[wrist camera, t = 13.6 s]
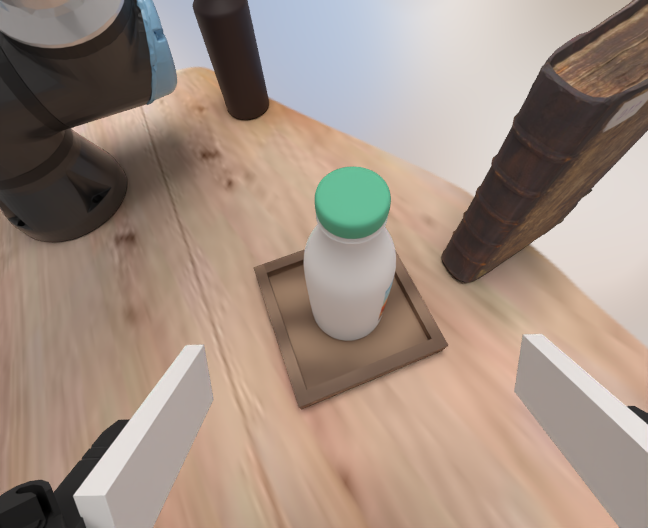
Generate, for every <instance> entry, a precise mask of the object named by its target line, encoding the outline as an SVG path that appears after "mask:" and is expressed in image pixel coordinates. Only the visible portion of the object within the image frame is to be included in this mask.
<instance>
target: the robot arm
mask: <svg viewBox="0 0 648 528" xmlns="http://www.w3.org/2000/svg"><path fill="white" fill-rule="evenodd" d="M176 85H177V74H176V69H175V65H174V62H173V58H172V55H171V52H170V48H169V45H168V42H167V40H166V37H165V35H164V34H163V29H162V26H161V22H160V19H159V16H158V14H157V11H156V8H155V6H154V3H153V1H152V0H0V209H1V210H2V212H3V213H4V215H5V216H6V217H7V219H8V220H9V221H10V222H11V223H12V224H13V225H14V226H15V227H16V228H18V229H19V230H21V231H22V232H24V233H25V234H27V235H28V236H30V237H32V238H34V239H37V240H40V241H45V242H60V241H66V240H71V239H74V238H77V237H80V236H82V235H85V234H87V233H89V232H91V231H93V230H94V229H96V228H97V227H99V226H100V225H102V224H103V223H104V222H105V221H107V220H108V219H109V218H110V217H111V216H112V215H113V214H114V213H115V211H116V210H117V209H118V207H119V206H120V204H121V203H122V201H123V199H124V196H125V193H126V189H127V179H126V175H125V172H124V171H123V169H122V168H121V166H120V165H119V164H118V163H117V162H116V160H115V159H114V158H113V157H112V156H111V155H110V154H109V153H108V152H106V151H104V150H103V149H101V148H100V147H98V146H97V145H95V144H93V143H92V142H90V141H89V140H87V139H86V138H84V137H82V136H81V135H79V134H78V133H76V132H75V131H73V130H72V129H71V128H73V127H75V126H79V125H82V124H85V123H88V122H91V121H95V120H98V119H101V118H104V117H107V116H111V115H114V114H117V113H120V112H123V111H127V110H130V109H133V108H136V107H139V106H143V105H146V104H147V105H148V104H151V103H152V102H153V101H154V100H156V99H159V98H161V97H164V96H166V95H169V94H171V93H172V92H173V91H174V90H175V88H176ZM514 392H515V393H516V394H517V395H518V397H519V398H520V399H521V401H522V402H523V403H524V404H525V406H526V407H527V408H528V410H529V411H530V412H531V414H532V415H533V416H534V417H535V419H536V420H537V421H538V423H539V424H540V425H541V427H542V428H543V429H544V430H545V432H546V433H547V434H548V436H549V437H550V438H551V439H552V441H553V442H554V443H555V445H556V446H557V447H558V449H559V450H560V451H561V452H562V454H563V455H564V456H565V458H566V459H567V460H568V462H569V463H570V464H571V465H572V467H573V468H574V469H575V471H576V472H577V473H578V474H579V476H580V477H581V478H582V480H583V481H584V482H585V484H586V485H587V486H588V487H589V489H590V490H591V491H592V493H593V494H594V495H595V496H596V498H597V499H598V500H599V502H600V503H601V504H602V506H603V507H604V508H605V509H606V511H607V512H608V513H609V515H610V516H611V517H612V519H613V520H614V521H615V522H616V524H617V525H618V526H619V528H648V413H646V412H644V411H643V410H641V409H639V408H637V407H635V406H625V405H624V404H623V403H622V402H621V401H620V400H618V399H617V398H616V397H615V396H614V395H613V394H611V393H610V392H609V391H608V390H607V389H606V388H604V387H603V386H602V385H601V384H600V383H599V382H597V381H596V380H595V379H594V378H593V377H592V376H590V375H589V374H588V373H587V372H586V371H585V370H583V369H582V368H581V367H580V366H579V365H578V364H576V363H575V362H574V361H573V360H572V359H571V358H569V357H568V356H567V355H566V354H565V353H564V352H562V351H561V350H560V349H559V348H558V347H557V346H555V345H554V344H553V343H552V342H551V341H550V340H548V339H547V338H546V337H545V336H544V335H543V334H525V335H523V336H522V343H521V350H520V356H519V363H518V370H517V376H516V383H515V390H514ZM212 401H213V393H212V387H211V382H210V376H209V370H208V365H207V359H206V353H205V347H204V345H186V346H185V347H184V348H183V350H182V351H181V352H180V354H179V355H178V356H177V358H176V359H175V361H174V362H173V363H172V365H171V366H170V367H169V369H168V370H167V371H166V373H165V374H164V375H163V377H162V378H161V379H160V381H159V382H158V383H157V385H156V386H155V387H154V389H153V390H152V391H151V393H150V394H149V395H148V397H147V398H146V399H145V401H144V402H143V403H142V405H141V406H140V407H139V409H138V410H137V411H136V413H135V414H134V415H133V417H132V418H131V419H130V420H118V421H117V422H115V423H114V424H113V425H111V426H110V427H109V428H107V429H106V430H105V431H104V432H102V434H101V435H100V436H99V437H98V439H97V440H96V441H95V442H94V444H93V445H92V447H91V449H89V450H88V451H87V452H86V453H85V455H84V456H83V457H82V460H81V461H79V462H78V463H77V464H76V466H75V467H74V468H73V469H72V471H71V472H70V473H69V474H68V475H67V477H66V478H65V479H64V480H63V482H62V483H61V484H60V485H59V487H58V488H57V489H56V490H55V491H54V493H53V490H52V488H51V486H50V484H49V482H46V481H43V480H35V481H29V482H26V483H24V484H21V485H18V486H16V487H14V488H12V489H11V490H9V491H7V492H5V493H4V494H2V495H1V496H0V528H153V526H154V524H155V522H156V520H157V518H158V516H159V514H160V511H161V509H162V507H163V505H164V503H165V501H166V499H167V497H168V494H169V492H170V490H171V488H172V486H173V484H174V482H175V480H176V478H177V475H178V473H179V471H180V469H181V467H182V465H183V463H184V461H185V459H186V456H187V454H188V452H189V450H190V448H191V446H192V444H193V442H194V440H195V437H196V435H197V433H198V431H199V429H200V427H201V425H202V423H203V421H204V418H205V416H206V414H207V412H208V410H209V408H210V406H211V404H212Z"/></svg>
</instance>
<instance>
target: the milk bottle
mask: <svg viewBox="0 0 648 528" xmlns="http://www.w3.org/2000/svg"><path fill="white" fill-rule="evenodd" d="M390 203H391V196H390V191H389V188H388V186H387V184H386V182H385V181H384V180H383V179H382V177H380V176H379V175H378V174H377V173H375V172H373V171H371V170H369V169H366V168H361V167H344V168H340V169H337V170H334V171H332V172H331V173H329V174H328V175H326V176H325V177H324V178H323V179H322V180H321V182H320V183H319V185H318V187H317V190H316V193H315V209H316V219H317V223H318V224H317V226H316V227H315V228H314V230H313V231H312V232H311V234H310V236H309V238H308V241H307V243H306V247H305V251H304V273H305V280H306V285H307V290H308V294H309V299H310V304H311V308H312V312H313V315H314V318H315V321H316V323H317V324H318V326H319V327H320V328H321V329H322V330H323V331H324V332H325V333H326V334H327V335H329V336H331V337H333V338H335V339H338V340H344V341H352V340H357V339H360V338H363V337H365V336H367V335H368V334H370V333H371V332H372V331H373V330H374V329H375V328H376V326H377V325H378V323H379V321H380V319H381V317H382V314H383V311H384V308H385V305H386V302H387V299H388V296H389V293H390V289H391V286H392V283H393V279H394V274H395V269H396V252H395V246H394V243H393V240H392V238H391V236H390V234H389V232H388V230H387V229H386V227H385V225H386V222H387V218H388V213H389V209H390Z"/></svg>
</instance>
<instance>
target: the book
mask: <svg viewBox="0 0 648 528" xmlns="http://www.w3.org/2000/svg"><path fill="white" fill-rule="evenodd" d="M647 131H648V0H633V1H632V2H630V3H629V4H628V5H626V6H625V7H624V8H622V9H621V10H619V11H618V12H616V13H615V14H613V15H612V16H610V17H609V18H607V19H606V20H604V21H603V22H601V23H600V24H599V25H597V26H596V27H594V28H593V29H591V30H590V31H588V32H586V33H583V34H579V35H577V36H576V37H574V38H572V39H571V40H570V41H568V42H567V43H565V44H564V45H562V46H561V47H559V48H558V49H557V50H556V51H555V52H554V53H553V54H552V55H551V56H550V57H549V58H548V60H547V61H546V63H545V64H544V66H542V68H541V70H540V72H539V75H538V76H537V78H536V80H535V82H534V83H533V85H532V88H531V89H530V92H529V94H528V96H527V98H526V100H525V102H524V104H523V105H522V107H521V109H520V111H519V113H518V114H517V115H516V116H515V117H514V120H513V125H512V128H511V130H510V131H509V134H508V135H507V137H506V139H505V141H504V143H503V145H502V147H501V149H500V150H499V152H498V154H497V155H496V156H495V157H493V159H492V166H491V168H490V170H489V172H488V173H487V175H486V177H485V179H484V181H483V182H482V184H481V186H479V187H478V188H477V191H476V195H475V197H474V199H473V201H472V202H471V204H470V206H469V208H468V210H467V211H466V212H464V216H463V219H462V221H461V222H460V224H459V226H458V228H457V229H456V231H454V232H453V235H452V238H451V240H450V242H449V243H448V245H447V247H446V249H445V250H444V252H443V254H442V261H443V262H444V264H445V266H446V267H447V269H448V270H449V271H450V272H451V273H452V275H453V276H454V277H456V278H457V279H459V280H461V281H463V282H471V281H474V280H476V279H478V278H480V277H482V276H483V275H485V274H486V273H488V272H490V271H491V270H493V269H494V268H495V267H496V266H498V265H499V264H501V263H502V262H503V261H505V260H506V259H508V258H509V257H511V256H513V255H514V254H516V253H517V252H519V251H520V250H522V249H523V248H524V247H526V246H527V245H529V244H530V243H532V242H533V241H534V240H536V239H537V238H539V237H540V236H542V235H544V234H545V233H547V232H548V231H549V230H551V229H552V228H553V227H555V226H556V225H557V224H559V223H561V222H562V221H563V220H564V218H565V217H566V216H567V215H568V214H569V213H570V212H571V211H572V210H573V209H574V208H575V207H576V205H577V204H578V202H579V201H580V200H581V198H583V197H584V196H586V195H587V194H588V193H590V192H591V191H592V188H593V187H594V185H595V184H596V183H597V182H598V181H599V180H600V179H601V178H602V177H603V176H604V175H605V174H606V173H607V172H608V171H609V170H610V169H611V168H612V167H613V166H614V165H615V164H616V163H617V162H618V161H619V160H620V159H621V157H623V156H624V154H625V153H626V152H627V151H628V150H629V149H630V148H631V147H632V146H633V145H634V144H635V143H636V142H637V141H638V140H639V139H640V138H641V137H642V136H643V135H644V134H645V132H647Z"/></svg>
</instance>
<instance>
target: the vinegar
mask: <svg viewBox="0 0 648 528" xmlns="http://www.w3.org/2000/svg"><path fill="white" fill-rule="evenodd" d="M193 9H194V13H195V16H196V19H197V21H198V25H199V28H200V30H201V33H202V36H203V39H204V42H205V45H206V48H207V51H208V54H209V57H210V60H211V62H212V65H213V68H214V71H215V74H216V77H217V80H218V83H219V86H220V89H221V92H222V94H223V97H224V100H225V103H226V106H227V109H228V112H229V113H230V114H231V115H232V116H234V117H236V118H238V119H243V120H246V119H253V118H256V117H258V116H260V115H262V114H263V113H264V112H265V111H266V110H267V108H268V104H269V99H268V95H267V90H266V86H265V80H264V76H263V72H262V66H261V62H260V57H259V52H258V48H257V43H256V39H255V34H254V29H253V24H252V20H251V15H250V10H249V6H248V1H247V0H194V2H193Z"/></svg>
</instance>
